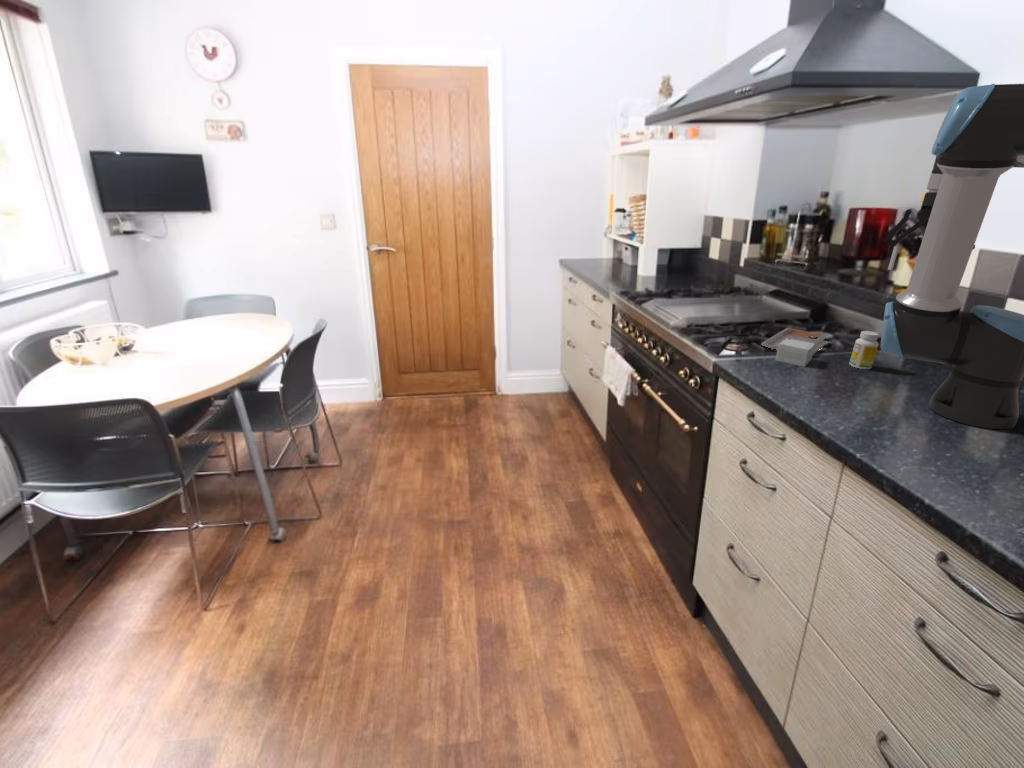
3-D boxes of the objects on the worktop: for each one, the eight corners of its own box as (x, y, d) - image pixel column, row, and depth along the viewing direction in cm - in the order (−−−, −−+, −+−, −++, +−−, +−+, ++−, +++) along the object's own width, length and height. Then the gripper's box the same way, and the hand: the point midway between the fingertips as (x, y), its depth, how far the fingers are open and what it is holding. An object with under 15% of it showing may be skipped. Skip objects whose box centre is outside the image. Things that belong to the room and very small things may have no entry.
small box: (804, 367, 146) (809, 349, 144) (774, 361, 151) (778, 343, 149) (811, 360, 152) (816, 343, 150) (782, 354, 156) (786, 337, 154)
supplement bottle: (845, 365, 148) (854, 332, 144) (853, 361, 151) (862, 328, 148) (867, 371, 144) (877, 336, 141) (874, 367, 147) (884, 333, 144)
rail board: (810, 357, 154) (812, 349, 153) (760, 346, 162) (762, 339, 161) (828, 343, 168) (830, 335, 167) (781, 333, 176) (783, 326, 175)
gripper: (1005, 193, 137) (977, 277, 144) (890, 189, 152) (870, 265, 160) (1003, 194, 132) (974, 280, 139) (885, 189, 147) (864, 267, 155)
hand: (918, 272), depth 150 cm, fingers open, 13 cm apart
